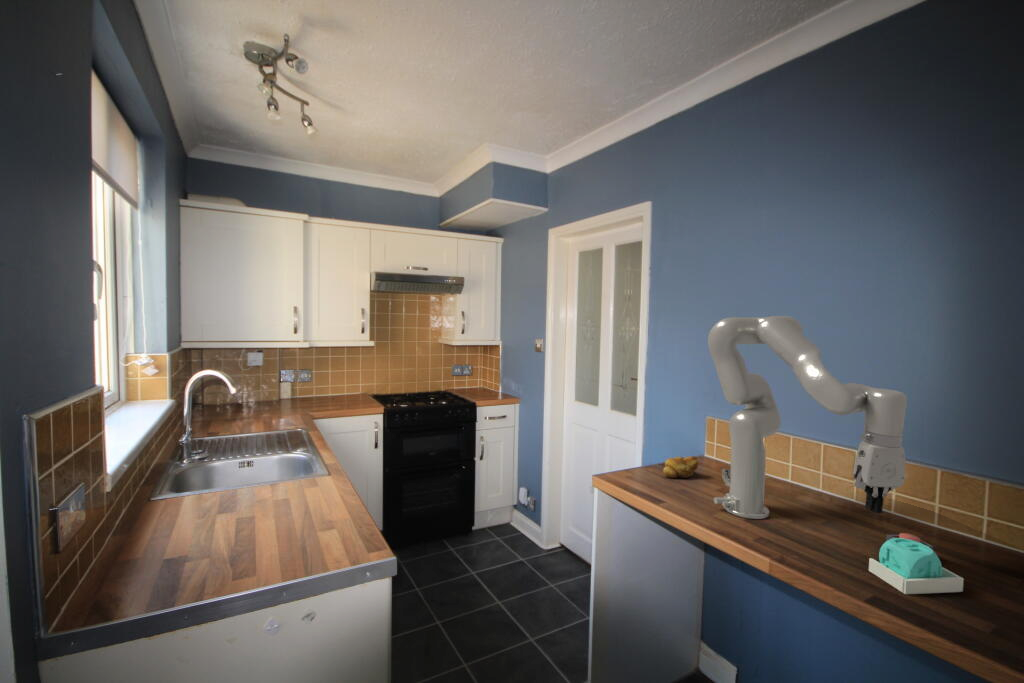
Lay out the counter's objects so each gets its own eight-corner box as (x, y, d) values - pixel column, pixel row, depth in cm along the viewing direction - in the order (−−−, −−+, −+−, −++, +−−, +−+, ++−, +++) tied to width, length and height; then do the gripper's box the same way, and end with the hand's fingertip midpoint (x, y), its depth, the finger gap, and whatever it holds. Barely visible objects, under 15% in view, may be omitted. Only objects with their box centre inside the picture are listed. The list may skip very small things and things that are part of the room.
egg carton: (747, 490, 161) (747, 478, 161) (723, 486, 163) (724, 475, 163) (743, 479, 171) (744, 468, 171) (721, 476, 174) (721, 466, 173)
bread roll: (669, 481, 168) (670, 459, 167) (655, 472, 177) (655, 451, 177) (700, 479, 171) (701, 457, 170) (684, 470, 180) (685, 450, 180)
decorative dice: (908, 590, 102) (911, 555, 102) (877, 570, 110) (879, 537, 110) (941, 589, 103) (944, 554, 102) (908, 569, 111) (910, 536, 110)
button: (908, 554, 115) (909, 540, 115) (894, 546, 119) (895, 533, 119) (923, 554, 116) (924, 540, 115) (908, 546, 120) (909, 532, 119)
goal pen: (905, 594, 101) (906, 580, 101) (868, 570, 110) (869, 558, 110) (962, 591, 102) (963, 578, 102) (921, 568, 111) (922, 556, 111)
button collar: (908, 562, 114) (909, 547, 114) (885, 549, 120) (886, 534, 120) (932, 561, 115) (933, 546, 114) (908, 548, 121) (909, 534, 121)
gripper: (866, 443, 110) (858, 517, 112) (924, 444, 111) (914, 517, 113) (841, 434, 117) (833, 504, 119) (895, 435, 119) (887, 503, 121)
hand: (873, 510), depth 116 cm, fingers closed
